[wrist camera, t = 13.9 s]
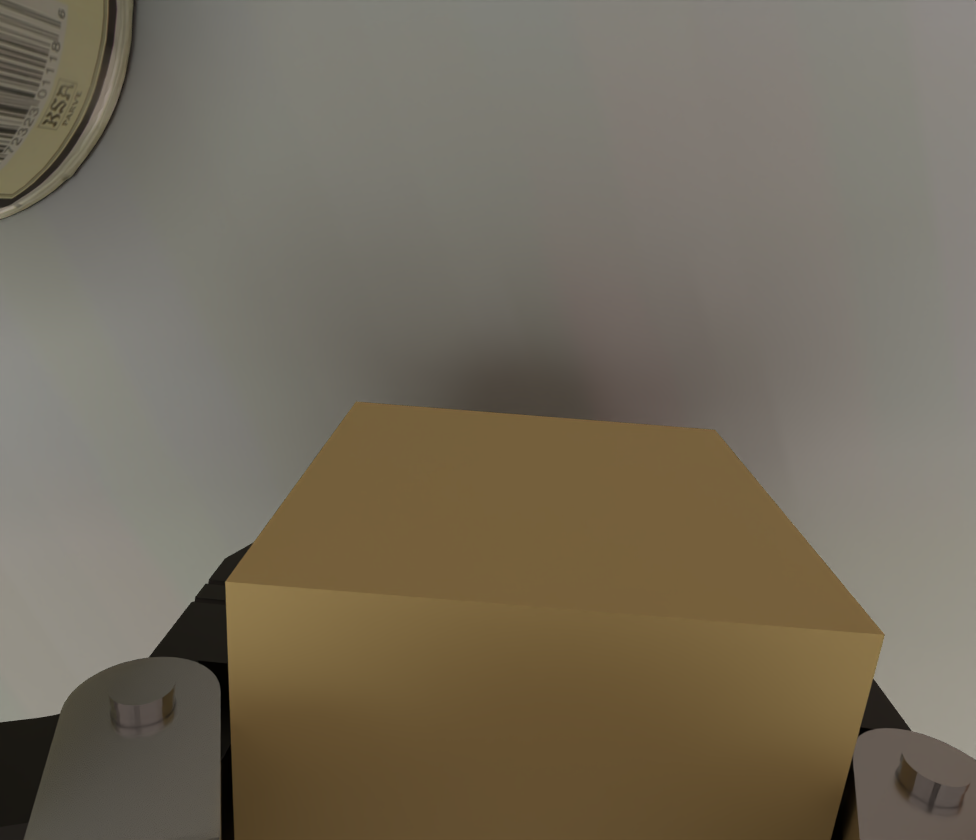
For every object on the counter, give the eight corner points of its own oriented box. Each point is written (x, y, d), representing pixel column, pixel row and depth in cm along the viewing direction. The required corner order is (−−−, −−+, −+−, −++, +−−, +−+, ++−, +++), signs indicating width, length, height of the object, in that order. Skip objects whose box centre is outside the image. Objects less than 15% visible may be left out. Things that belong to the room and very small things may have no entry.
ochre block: (355, 402, 10) (225, 581, 6) (714, 429, 10) (885, 635, 6) (349, 703, 12) (241, 1045, 7) (663, 729, 12) (764, 1090, 7)
